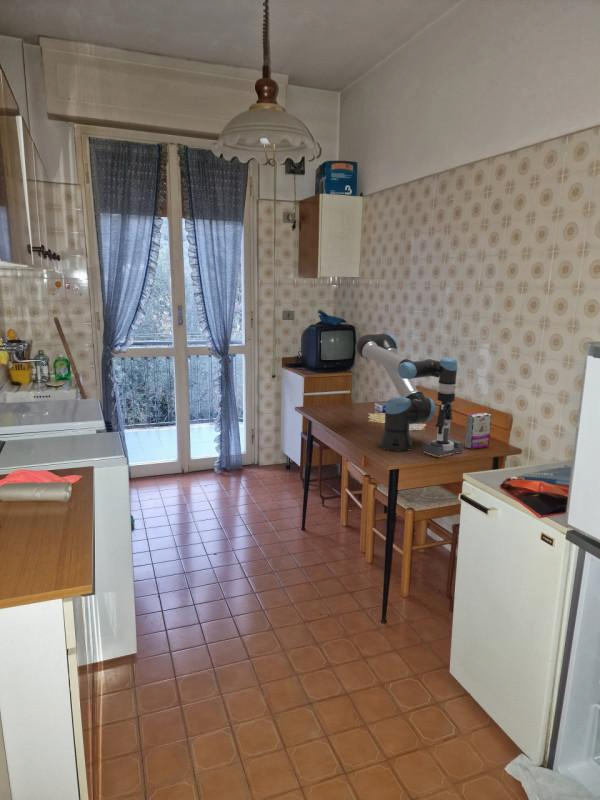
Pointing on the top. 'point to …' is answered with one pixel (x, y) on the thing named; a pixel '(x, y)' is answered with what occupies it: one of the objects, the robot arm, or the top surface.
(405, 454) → the top surface
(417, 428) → the top surface
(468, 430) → the candy bar box
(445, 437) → the lens
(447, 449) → the camera body
